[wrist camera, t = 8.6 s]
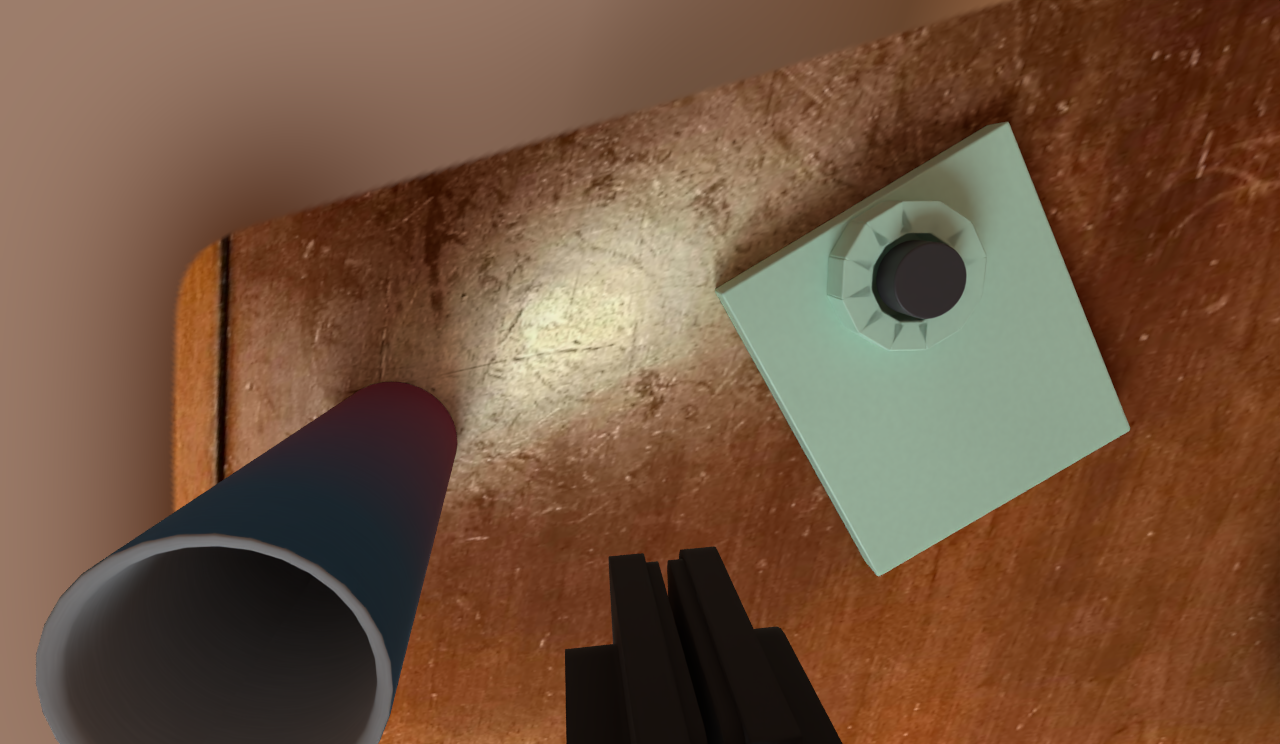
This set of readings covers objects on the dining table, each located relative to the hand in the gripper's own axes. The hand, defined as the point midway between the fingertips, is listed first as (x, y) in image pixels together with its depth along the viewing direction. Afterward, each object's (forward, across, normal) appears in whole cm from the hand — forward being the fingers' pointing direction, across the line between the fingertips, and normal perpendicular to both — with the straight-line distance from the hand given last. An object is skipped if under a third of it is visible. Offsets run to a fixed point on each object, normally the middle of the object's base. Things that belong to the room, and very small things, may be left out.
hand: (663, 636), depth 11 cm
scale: (+18, -14, +1) cm, 23 cm away
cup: (+19, +8, +3) cm, 21 cm away
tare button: (+16, -12, -3) cm, 20 cm away
